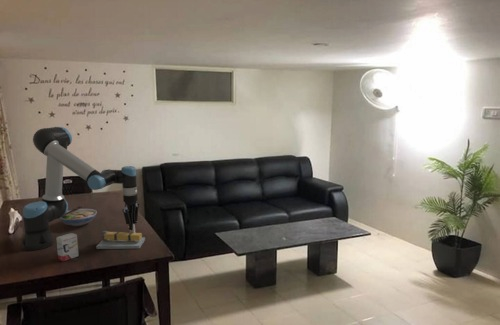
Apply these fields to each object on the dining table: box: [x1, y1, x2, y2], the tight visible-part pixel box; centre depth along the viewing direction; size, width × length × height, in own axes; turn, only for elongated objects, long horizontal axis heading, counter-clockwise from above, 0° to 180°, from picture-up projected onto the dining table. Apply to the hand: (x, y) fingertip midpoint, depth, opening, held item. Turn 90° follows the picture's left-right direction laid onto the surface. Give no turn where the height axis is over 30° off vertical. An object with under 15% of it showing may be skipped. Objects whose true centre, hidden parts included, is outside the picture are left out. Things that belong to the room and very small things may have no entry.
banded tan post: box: [101, 230, 143, 241], centre depth 214 cm, size 22×4×5 cm, turn 84°
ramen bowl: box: [58, 206, 98, 227], centre depth 247 cm, size 25×23×8 cm
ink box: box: [55, 232, 79, 262], centre depth 195 cm, size 9×5×12 cm, turn 146°
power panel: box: [95, 236, 146, 250], centre depth 214 cm, size 23×13×2 cm, turn 92°
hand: (132, 234), depth 217 cm, fingers closed
